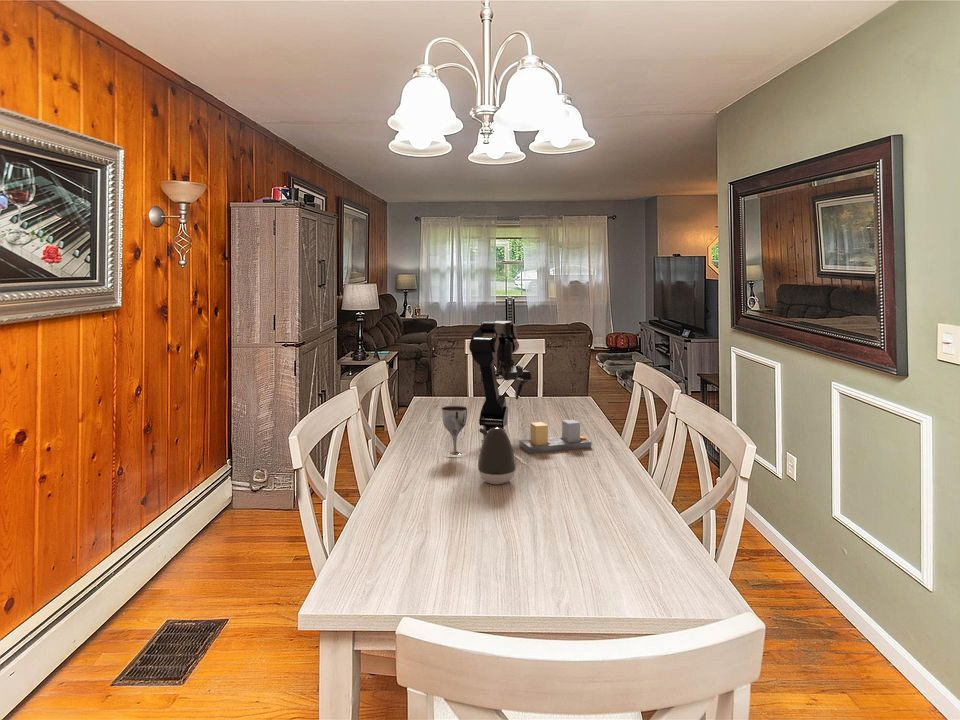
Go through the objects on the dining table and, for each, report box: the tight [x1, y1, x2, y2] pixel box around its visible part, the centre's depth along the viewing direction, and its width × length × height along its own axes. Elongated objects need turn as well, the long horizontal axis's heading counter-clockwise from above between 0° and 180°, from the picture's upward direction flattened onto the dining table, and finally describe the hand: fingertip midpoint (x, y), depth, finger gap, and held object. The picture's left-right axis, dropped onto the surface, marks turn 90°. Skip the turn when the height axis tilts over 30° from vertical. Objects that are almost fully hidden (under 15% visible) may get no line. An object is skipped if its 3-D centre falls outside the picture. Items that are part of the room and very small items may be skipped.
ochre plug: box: [529, 421, 549, 446], centre depth 212 cm, size 4×5×8 cm
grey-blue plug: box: [561, 419, 581, 443], centre depth 215 cm, size 4×5×8 cm
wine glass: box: [441, 405, 468, 455], centre depth 209 cm, size 8×8×15 cm
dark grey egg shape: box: [477, 427, 516, 485], centre depth 182 cm, size 10×10×15 cm
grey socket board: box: [518, 435, 592, 455], centre depth 214 cm, size 21×10×4 cm, turn 106°
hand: (504, 400), depth 236 cm, fingers open, 9 cm apart
